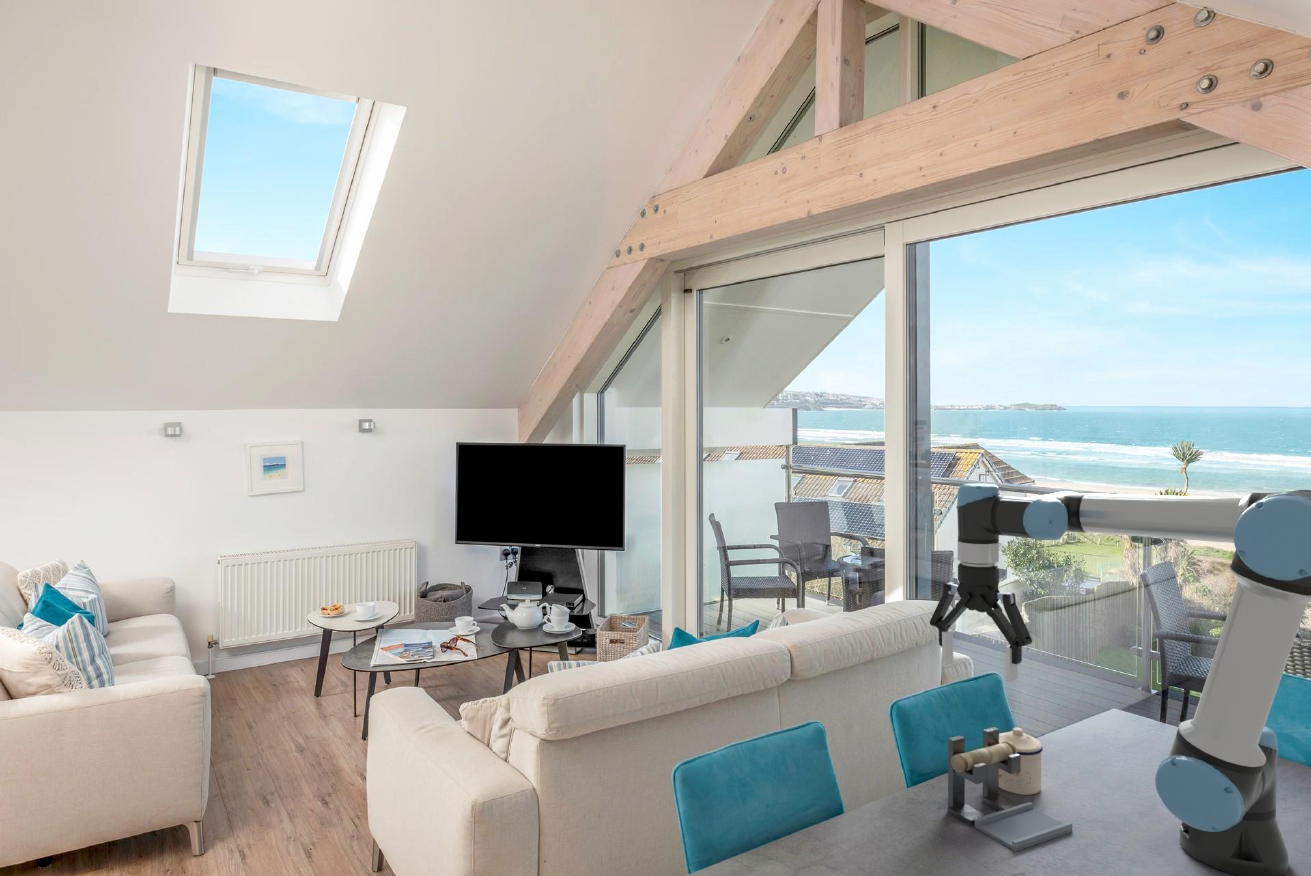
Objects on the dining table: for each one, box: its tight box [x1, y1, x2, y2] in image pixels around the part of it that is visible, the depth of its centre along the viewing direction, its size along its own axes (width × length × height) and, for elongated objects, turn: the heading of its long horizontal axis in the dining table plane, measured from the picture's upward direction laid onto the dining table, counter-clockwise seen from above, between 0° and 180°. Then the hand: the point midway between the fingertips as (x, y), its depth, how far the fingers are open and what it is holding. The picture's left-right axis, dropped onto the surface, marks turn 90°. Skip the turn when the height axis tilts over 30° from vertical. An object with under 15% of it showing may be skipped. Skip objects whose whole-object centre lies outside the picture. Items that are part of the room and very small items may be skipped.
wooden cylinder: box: [951, 741, 1017, 773], centre depth 154 cm, size 14×3×3 cm, turn 116°
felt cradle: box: [974, 801, 1073, 852], centre depth 147 cm, size 9×14×2 cm, turn 116°
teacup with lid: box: [999, 727, 1044, 796], centre depth 164 cm, size 12×9×12 cm
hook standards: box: [947, 726, 1021, 827], centre depth 154 cm, size 6×13×14 cm, turn 116°
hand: (978, 671), depth 159 cm, fingers open, 13 cm apart
